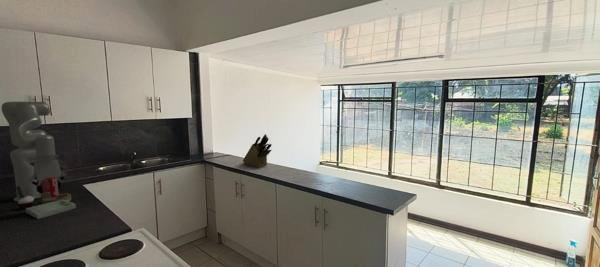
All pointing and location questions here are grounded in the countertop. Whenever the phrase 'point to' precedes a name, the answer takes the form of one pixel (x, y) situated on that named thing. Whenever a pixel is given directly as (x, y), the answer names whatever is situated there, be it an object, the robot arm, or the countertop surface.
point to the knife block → (258, 153)
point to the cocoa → (24, 200)
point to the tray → (50, 208)
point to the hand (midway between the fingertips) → (49, 190)
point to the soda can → (49, 188)
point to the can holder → (58, 198)
